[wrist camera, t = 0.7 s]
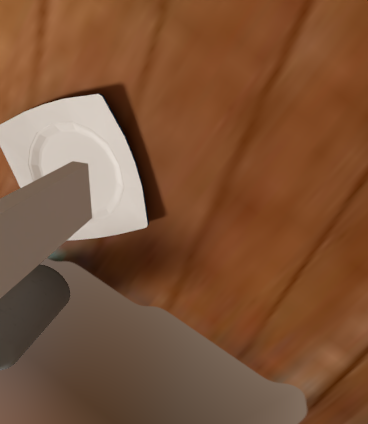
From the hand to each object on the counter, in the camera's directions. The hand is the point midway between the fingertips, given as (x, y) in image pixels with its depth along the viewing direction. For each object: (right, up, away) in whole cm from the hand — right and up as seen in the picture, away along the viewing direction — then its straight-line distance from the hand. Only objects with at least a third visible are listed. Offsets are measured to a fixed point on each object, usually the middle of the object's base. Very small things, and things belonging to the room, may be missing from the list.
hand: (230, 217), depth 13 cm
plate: (-17, +6, +35) cm, 39 cm away
